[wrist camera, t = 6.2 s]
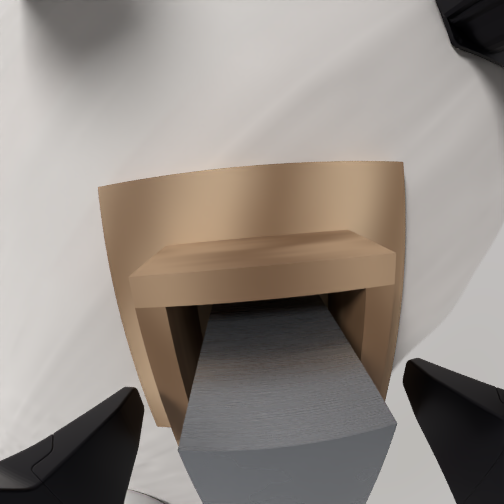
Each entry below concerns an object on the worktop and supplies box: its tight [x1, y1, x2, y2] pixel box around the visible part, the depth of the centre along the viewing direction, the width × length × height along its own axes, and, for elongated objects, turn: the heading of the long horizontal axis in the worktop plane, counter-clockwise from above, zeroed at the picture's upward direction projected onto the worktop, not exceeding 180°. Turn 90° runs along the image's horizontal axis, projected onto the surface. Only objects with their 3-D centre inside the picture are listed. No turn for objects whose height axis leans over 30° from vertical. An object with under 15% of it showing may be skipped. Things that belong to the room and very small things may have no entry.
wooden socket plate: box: [98, 161, 405, 446], centre depth 12 cm, size 14×14×6 cm
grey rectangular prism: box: [178, 294, 397, 504], centre depth 9 cm, size 4×4×9 cm
